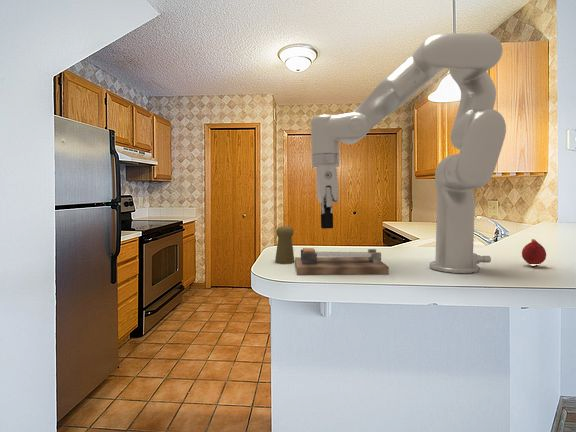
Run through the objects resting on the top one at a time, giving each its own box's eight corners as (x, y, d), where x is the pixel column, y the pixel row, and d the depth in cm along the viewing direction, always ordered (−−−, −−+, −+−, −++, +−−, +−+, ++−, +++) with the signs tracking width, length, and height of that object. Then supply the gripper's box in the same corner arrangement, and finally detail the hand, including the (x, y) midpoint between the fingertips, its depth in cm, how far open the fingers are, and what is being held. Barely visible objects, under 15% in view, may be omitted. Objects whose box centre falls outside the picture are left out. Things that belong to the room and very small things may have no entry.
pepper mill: (292, 264, 109) (292, 227, 108) (272, 263, 110) (272, 227, 109) (296, 260, 115) (296, 225, 114) (277, 259, 116) (277, 225, 115)
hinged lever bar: (374, 255, 105) (374, 248, 104) (377, 257, 101) (378, 250, 101) (302, 254, 104) (302, 247, 104) (303, 256, 101) (303, 250, 101)
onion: (545, 266, 106) (546, 238, 105) (546, 269, 101) (547, 241, 100) (521, 263, 109) (522, 237, 108) (521, 267, 104) (522, 239, 104)
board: (374, 263, 110) (375, 246, 110) (388, 274, 96) (389, 255, 96) (295, 264, 110) (295, 247, 109) (297, 275, 96) (297, 256, 95)
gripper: (343, 159, 93) (345, 230, 95) (335, 163, 108) (336, 225, 109) (314, 159, 93) (316, 231, 94) (309, 163, 108) (311, 225, 109)
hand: (327, 227), depth 102 cm, fingers closed
